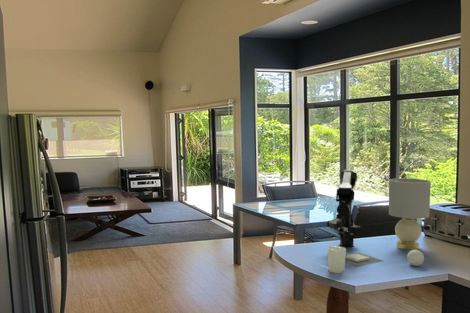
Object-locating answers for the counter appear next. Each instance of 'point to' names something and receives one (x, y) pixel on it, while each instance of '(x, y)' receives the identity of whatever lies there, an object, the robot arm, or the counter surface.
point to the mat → (354, 263)
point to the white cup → (336, 259)
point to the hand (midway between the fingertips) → (343, 244)
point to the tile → (357, 257)
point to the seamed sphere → (415, 257)
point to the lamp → (409, 209)
